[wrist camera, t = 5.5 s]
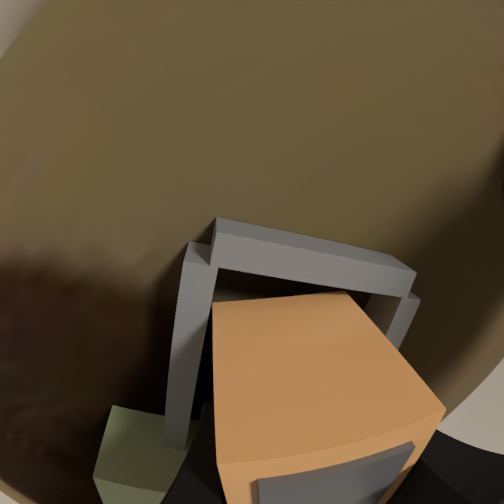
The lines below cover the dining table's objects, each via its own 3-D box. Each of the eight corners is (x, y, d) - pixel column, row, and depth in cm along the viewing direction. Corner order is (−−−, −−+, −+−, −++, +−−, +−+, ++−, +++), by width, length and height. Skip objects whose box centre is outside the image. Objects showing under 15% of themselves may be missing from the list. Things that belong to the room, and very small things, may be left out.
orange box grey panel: (344, 290, 10) (451, 415, 4) (324, 421, 12) (368, 529, 6) (212, 302, 10) (217, 473, 4) (228, 435, 12) (242, 555, 6)
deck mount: (443, 267, 12) (510, 310, 8) (327, 473, 16) (344, 522, 12) (117, 199, 9) (55, 232, 5) (120, 462, 14) (110, 519, 10)
